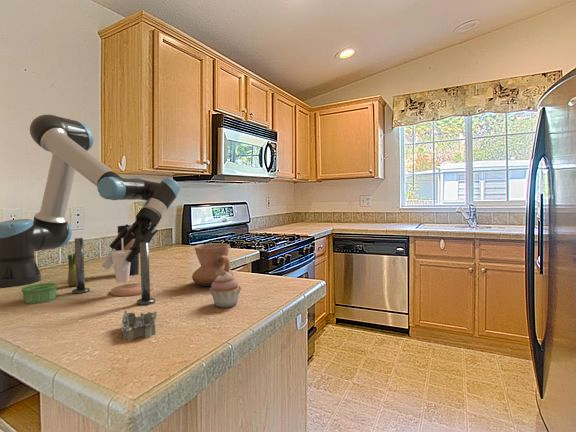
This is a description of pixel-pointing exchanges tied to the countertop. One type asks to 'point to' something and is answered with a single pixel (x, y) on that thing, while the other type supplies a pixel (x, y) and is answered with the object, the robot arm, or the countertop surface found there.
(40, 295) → the ramekin
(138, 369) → the countertop surface
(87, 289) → the rod gate
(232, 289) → the cupcake
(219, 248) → the ceramic jug
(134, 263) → the travel mug
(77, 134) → the robot arm
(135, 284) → the coaster
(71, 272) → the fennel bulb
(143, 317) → the grey castle model
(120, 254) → the smoothie
